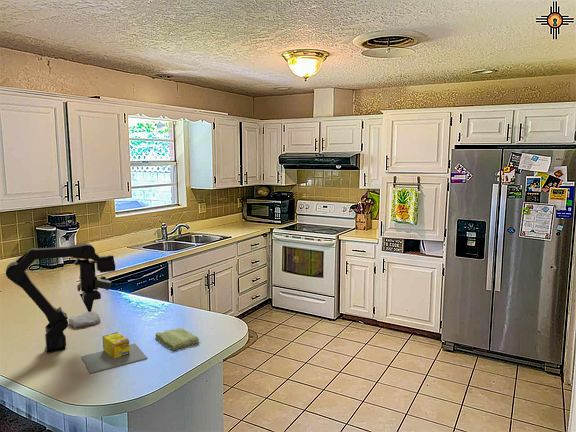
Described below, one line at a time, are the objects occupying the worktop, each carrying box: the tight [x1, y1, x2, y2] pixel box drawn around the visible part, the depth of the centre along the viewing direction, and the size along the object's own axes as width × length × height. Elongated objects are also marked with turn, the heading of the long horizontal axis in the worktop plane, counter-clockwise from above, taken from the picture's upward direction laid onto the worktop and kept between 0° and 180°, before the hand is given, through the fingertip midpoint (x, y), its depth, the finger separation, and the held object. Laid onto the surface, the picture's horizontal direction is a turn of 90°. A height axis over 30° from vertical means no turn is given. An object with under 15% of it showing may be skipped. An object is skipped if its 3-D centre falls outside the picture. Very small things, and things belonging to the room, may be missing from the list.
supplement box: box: [102, 331, 130, 359], centre depth 168 cm, size 6×6×11 cm
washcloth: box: [154, 327, 200, 351], centre depth 180 cm, size 13×18×3 cm
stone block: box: [68, 310, 101, 329], centre depth 200 cm, size 12×5×10 cm
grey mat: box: [81, 343, 148, 374], centre depth 164 cm, size 20×16×1 cm
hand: (89, 311), depth 178 cm, fingers closed
